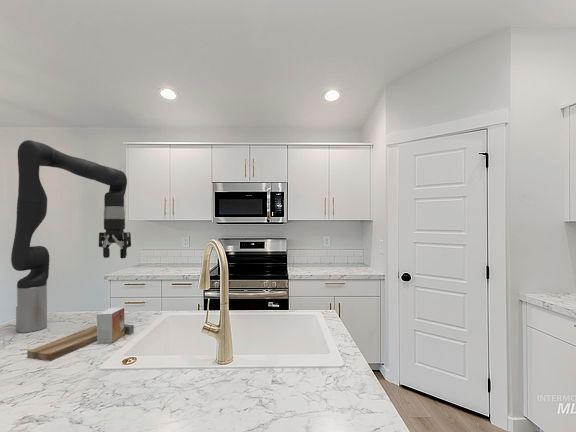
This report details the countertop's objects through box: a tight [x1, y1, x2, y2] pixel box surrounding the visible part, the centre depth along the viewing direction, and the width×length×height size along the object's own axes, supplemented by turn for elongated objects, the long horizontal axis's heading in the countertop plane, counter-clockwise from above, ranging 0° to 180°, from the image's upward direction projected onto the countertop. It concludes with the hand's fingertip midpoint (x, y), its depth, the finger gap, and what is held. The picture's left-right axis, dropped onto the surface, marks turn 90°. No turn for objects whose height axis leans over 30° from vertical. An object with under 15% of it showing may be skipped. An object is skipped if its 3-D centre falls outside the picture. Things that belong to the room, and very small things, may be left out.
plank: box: [26, 325, 97, 362], centre depth 107 cm, size 10×24×2 cm, turn 163°
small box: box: [96, 307, 125, 344], centre depth 111 cm, size 8×6×10 cm
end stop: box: [124, 323, 135, 336], centre depth 117 cm, size 6×2×3 cm, turn 73°
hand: (114, 257), depth 124 cm, fingers open, 8 cm apart
